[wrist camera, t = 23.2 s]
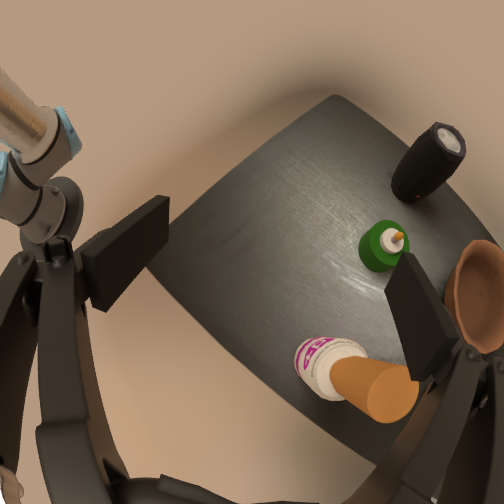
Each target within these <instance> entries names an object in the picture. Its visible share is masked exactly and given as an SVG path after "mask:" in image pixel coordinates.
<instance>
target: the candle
mask: <svg viewBox="0 0 504 504" xmlns="http://www.w3.org/2000/svg"><path fill="white" fill-rule="evenodd" d="M402 251H405V252H408V253H409V240H408V237H407V235H406V233H405V231H404V230H403V228H402V227H401V226H400V225H398V224H397V223H395V222H393V221H389V220H383V221H380V222H378V223H376V224H375V225H374V226H373V227H372V228H371V229H370V230H369V231H368V232H366V233H365V234H364V235H363V237H362V238H361V240H360V242H359V255H360V258H361V260H362V262H363V263H364V265H365V266H366V267H367V268H369V269H370V270H372V271H375V272H384V271H387V270H389V269H391V268H393V267H395V266H396V265H397V263H398V260H399V258H400V256H401V254H402Z"/></svg>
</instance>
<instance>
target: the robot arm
mask: <svg viewBox="0 0 504 504" xmlns="http://www.w3.org/2000/svg"><path fill="white" fill-rule="evenodd" d="M0 142H1V143H3V144H5V145H7V146H8V147H10V148H11V151H10V152H9V153H8V154H7V153H6V152H4V151H0V218H2V219H6V220H8V221H9V222H11V223H13V224H15V225H17V226H18V227H19V228H20V229H21V231H22V232H23V233H24V235H25V236H26V237H27V238H28V239H29V240H30V241H31V242H33V243H35V244H37V245H41V246H42V251H43V255H44V259H45V262H37V261H36V257H35V254H34V252H32V251H28V250H27V251H21V252H19V253H18V254H16V255H14V257H13V258H12V259H11V260H10V262H9V263H8V265H7V267H6V268H5V270H4V271H3V273H2V275H1V276H0V504H21V502H20V498H21V497H23V495H24V490H23V487H22V485H21V484H20V483H19V482H18V480H17V478H16V476H15V475H16V471H17V466H18V460H19V451H20V440H21V428H22V418H23V411H24V404H25V397H26V391H27V386H28V381H29V376H30V371H31V366H32V363H33V358H34V354H35V351H36V347H37V343H38V384H39V398H40V408H41V416H42V422H41V425H39V426H37V427H36V431H35V435H36V444H37V449H38V454H39V459H40V464H41V468H42V472H43V476H44V480H45V484H46V487H47V491H48V494H49V497H50V500H51V503H52V504H238V503H235V502H232V501H230V500H227V499H225V498H223V497H221V496H219V495H217V494H214V493H212V492H210V491H208V490H206V489H204V488H202V487H200V486H198V485H194V484H191V483H187V482H184V481H181V480H178V479H174V478H172V477H168V476H166V475H163V474H161V475H160V478H159V479H158V478H132V479H130V477H129V474H128V472H127V470H126V468H125V465H124V463H123V461H122V459H121V457H120V456H119V454H118V452H117V449H116V447H115V444H114V441H113V438H112V435H111V432H110V428H109V425H108V422H107V418H106V415H105V411H104V407H103V403H102V399H101V395H100V391H99V386H98V382H97V377H96V372H95V367H94V362H93V356H92V350H91V343H90V336H89V328H88V320H87V310H86V305H85V301H86V300H87V299H88V298H89V297H90V300H91V304H92V307H93V308H96V309H98V310H100V311H103V312H105V313H106V312H107V311H108V310H109V308H110V307H111V306H112V305H113V303H114V302H115V301H116V300H117V299H118V298H119V296H120V295H121V294H122V293H123V292H124V291H125V289H126V288H127V287H128V286H129V285H130V283H131V282H132V281H133V280H134V279H135V278H136V276H137V275H138V274H139V273H140V272H141V271H142V270H143V268H144V267H145V266H146V265H147V264H148V263H149V262H150V261H151V260H152V258H153V257H154V256H155V255H156V254H157V253H158V252H159V251H160V250H161V248H162V247H163V246H164V245H165V244H166V243H167V242H168V236H169V202H170V197H167V196H161V195H157V196H155V197H154V198H152V199H151V200H149V201H148V202H146V203H145V204H143V205H142V206H141V207H139V208H138V209H136V210H135V211H133V212H132V213H131V214H129V215H128V216H126V217H125V218H124V219H122V220H121V221H120V222H118V223H117V224H116V225H114V226H113V227H112V228H107V229H104V230H102V231H100V232H98V233H97V234H95V235H94V236H93V237H92V238H90V239H89V240H88V241H87V242H85V243H84V244H83V245H82V246H80V247H79V248H77V249H76V250H75V251H74V252H73V250H72V244H71V239H70V237H68V236H66V235H57V233H58V232H59V231H60V229H61V227H62V225H63V223H64V221H65V218H66V214H67V206H68V204H67V198H66V196H65V194H64V193H63V192H62V191H61V190H60V189H59V188H57V187H54V186H50V185H46V184H45V183H46V182H47V181H48V180H49V179H50V178H51V177H52V176H53V175H54V174H55V173H56V172H57V171H58V170H59V169H60V168H62V167H63V166H64V165H65V164H66V163H67V162H69V161H70V160H72V159H73V157H74V156H75V155H76V154H77V153H78V152H79V151H80V150H81V148H82V143H81V141H80V139H79V137H78V136H77V134H76V132H75V130H74V128H73V126H72V124H71V122H70V120H69V118H68V116H67V115H66V113H65V111H64V109H63V107H62V106H59V107H57V108H55V109H52V108H50V107H47V106H42V107H38V106H37V105H36V104H35V103H34V102H33V101H32V100H31V99H30V98H29V97H28V96H27V95H26V94H25V93H24V92H23V91H22V90H21V89H20V88H19V87H18V86H17V85H16V83H15V82H14V81H13V80H12V79H11V78H10V77H9V76H8V75H7V74H6V73H5V72H4V71H3V70H2V69H1V68H0ZM384 292H385V294H386V297H387V300H388V303H389V306H390V309H391V312H392V315H393V318H394V321H395V324H396V328H397V331H398V334H399V338H400V341H401V344H402V348H403V352H404V355H405V359H406V363H407V366H408V370H409V374H410V379H411V381H420V382H424V381H425V380H426V379H427V378H428V377H429V376H430V375H431V373H432V374H433V378H434V380H433V381H432V382H431V383H430V384H429V385H428V386H427V387H426V388H425V389H424V390H423V391H422V392H421V393H420V395H423V394H424V395H423V397H422V399H421V401H420V403H419V404H418V406H417V408H416V410H415V411H414V413H413V415H412V416H411V418H410V420H409V421H408V423H407V424H406V426H405V428H404V429H403V431H402V432H401V434H400V435H399V437H398V438H397V440H396V441H395V443H394V444H393V445H392V447H391V448H390V450H389V451H388V452H387V454H386V455H385V456H384V458H383V459H382V460H381V462H380V463H379V464H378V466H377V467H376V468H375V469H374V471H373V472H372V473H371V474H370V476H369V477H368V478H367V479H366V480H365V482H364V483H363V484H362V485H361V486H360V487H359V488H358V489H357V491H356V492H355V493H354V494H353V495H352V496H351V497H350V498H349V499H347V500H346V501H345V502H343V503H342V504H434V503H433V502H432V501H431V497H432V495H433V493H434V491H435V489H436V488H437V486H438V484H439V482H440V480H441V478H442V476H443V474H444V472H445V470H446V468H447V470H446V474H445V478H444V481H443V484H442V488H441V491H440V494H439V497H438V500H437V503H436V504H504V359H503V358H501V357H499V356H496V357H495V358H494V359H493V360H492V361H491V362H490V363H487V362H485V361H482V356H481V353H480V352H479V351H478V349H477V348H476V347H475V346H473V345H471V344H468V343H465V341H464V339H463V337H462V335H461V333H460V331H459V329H458V327H457V326H456V323H455V321H454V320H453V317H452V315H451V313H450V311H449V310H448V309H447V308H446V306H445V305H444V304H443V303H442V301H441V300H440V298H439V296H438V294H437V292H436V291H435V289H434V287H433V285H432V284H431V282H430V280H429V278H428V277H427V275H426V273H425V272H424V270H423V268H422V267H421V265H420V264H419V262H418V260H417V259H416V257H415V256H414V254H412V253H408V252H405V251H402V254H401V256H400V258H399V260H398V263H397V265H396V267H395V269H394V271H393V273H392V275H391V278H390V280H389V282H388V284H387V286H386V288H385V290H384ZM485 400H487V402H486V404H485V406H484V407H483V408H482V403H483V402H484V401H485ZM256 504H319V503H306V502H288V501H277V502H267V503H256Z"/></svg>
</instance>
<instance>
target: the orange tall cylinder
mask: <svg viewBox="0 0 504 504" xmlns="http://www.w3.org/2000/svg"><path fill="white" fill-rule="evenodd" d="M329 377H330V381H331V382H332V384H333V387H334V389H335V391H336V392H337V393H338V394H340V395H341V396H342V397H344V398H345V399H346V400H348V401H349V402H350V403H352V404H353V405H355V406H356V407H357V408H359V409H360V410H362V411H363V412H364V413H366V414H367V415H369V416H370V417H372V418H373V419H374V420H376V421H378V422H381V423H391V422H394V421H397V420H399V419H401V418H402V417H404V416H405V415H406V414H407V413H408V412H409V411H410V410H411V408H412V407H413V405H414V404H415V402H416V399H417V396H418V391H419V383H418V381H411V379H410V374H409V370H408V367H406V366H401V365H396V364H392V363H387V362H382V361H378V360H373V359H369V358H364V357H360V356H350V357H347V358H341V359H339V360H337V361H336V362H335V363H334V364H333V365H332V367H331V369H330V372H329Z"/></svg>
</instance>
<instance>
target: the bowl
mask: <svg viewBox="0 0 504 504" xmlns="http://www.w3.org/2000/svg"><path fill="white" fill-rule="evenodd" d="M444 302H445V306H446V308H447V309H448V310H449V311H450V313H451V315H452V317H453V320H454V321H455V323H456V326H457V327H458V329H459V331H460V333H461V335H462V337H463V339H464V340H465V341H466V343H468V344H471V345H473V346H475V347H476V348H477V349H478V351H479V352H480V353H482V354H487V353H489V352H491V351H494V350H496V349H498V348H499V347H500V346H501V345H502V344H503V343H504V253H503V252H502V251H501V250H500V248H499V247H498V246H496V245H494V244H493V243H491V242H489V241H487V240H473V241H472V242H471V243H470V244H469V245H468V246H467V247H466V248H465V249H464V250H463V251H462V254H461V256H460V259H459V261H458V263H457V266H456V267H455V268H454V269H453V271H452V273H451V275H450V277H449V279H448V281H447V283H446V289H445V296H444Z"/></svg>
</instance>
